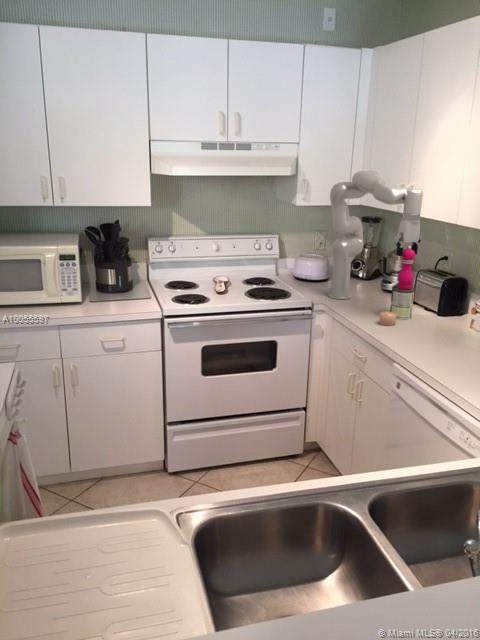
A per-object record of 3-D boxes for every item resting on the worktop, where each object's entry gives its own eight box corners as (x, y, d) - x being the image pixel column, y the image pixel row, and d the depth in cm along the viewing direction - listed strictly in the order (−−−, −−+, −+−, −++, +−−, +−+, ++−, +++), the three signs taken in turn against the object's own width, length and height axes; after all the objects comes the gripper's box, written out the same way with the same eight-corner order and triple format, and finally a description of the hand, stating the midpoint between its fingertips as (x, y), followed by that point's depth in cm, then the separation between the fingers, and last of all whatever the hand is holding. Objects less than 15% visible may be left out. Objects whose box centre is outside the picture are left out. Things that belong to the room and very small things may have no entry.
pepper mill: (412, 290, 245) (418, 247, 239) (396, 289, 246) (401, 246, 240) (412, 286, 251) (416, 244, 245) (396, 285, 253) (400, 244, 247)
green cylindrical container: (385, 313, 257) (388, 285, 253) (404, 312, 259) (407, 284, 255) (395, 320, 248) (398, 291, 243) (415, 319, 250) (419, 290, 246)
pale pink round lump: (376, 323, 244) (377, 312, 242) (386, 320, 247) (388, 310, 246) (387, 327, 238) (388, 316, 236) (398, 324, 241) (399, 314, 240)
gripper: (417, 215, 247) (413, 251, 252) (391, 217, 238) (387, 254, 244) (430, 217, 241) (425, 254, 246) (404, 219, 232) (399, 257, 238)
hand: (406, 254), depth 245 cm, fingers open, 9 cm apart
